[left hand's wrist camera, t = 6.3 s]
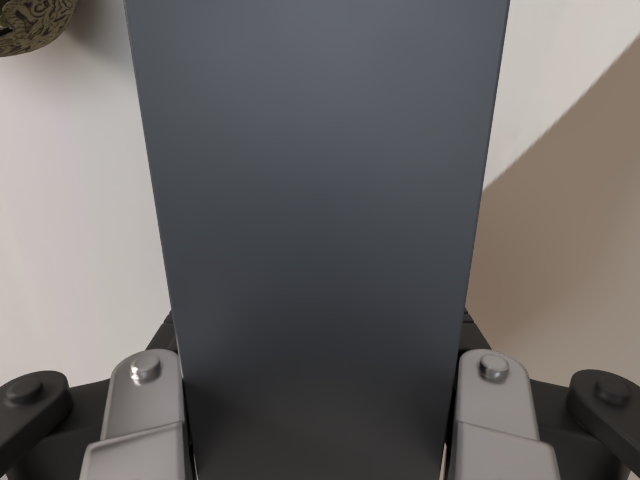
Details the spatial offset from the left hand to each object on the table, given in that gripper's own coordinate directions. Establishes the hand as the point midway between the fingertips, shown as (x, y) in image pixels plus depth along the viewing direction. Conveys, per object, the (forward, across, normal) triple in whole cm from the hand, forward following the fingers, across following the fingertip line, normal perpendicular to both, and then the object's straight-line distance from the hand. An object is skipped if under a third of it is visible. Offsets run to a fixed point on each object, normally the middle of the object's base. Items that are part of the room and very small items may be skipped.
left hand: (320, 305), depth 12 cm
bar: (+4, 0, +9) cm, 10 cm away
